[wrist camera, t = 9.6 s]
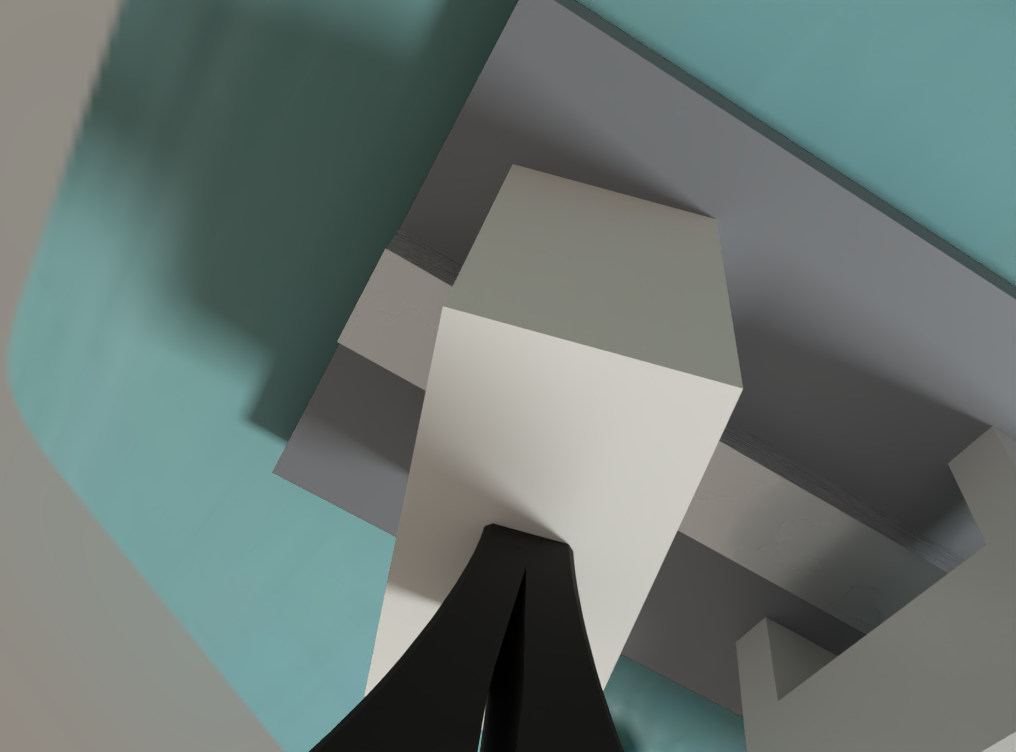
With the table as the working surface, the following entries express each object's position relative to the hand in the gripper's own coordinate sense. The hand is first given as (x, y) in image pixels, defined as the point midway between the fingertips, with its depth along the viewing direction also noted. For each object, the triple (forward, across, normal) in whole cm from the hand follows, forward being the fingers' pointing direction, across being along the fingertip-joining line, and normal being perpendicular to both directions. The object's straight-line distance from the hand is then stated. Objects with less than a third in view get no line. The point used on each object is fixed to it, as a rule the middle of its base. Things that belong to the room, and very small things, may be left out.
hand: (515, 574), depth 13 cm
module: (+6, 0, 0) cm, 6 cm away
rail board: (+7, -4, +1) cm, 8 cm away
